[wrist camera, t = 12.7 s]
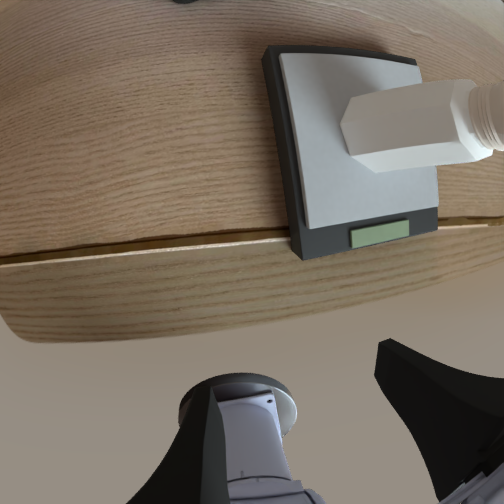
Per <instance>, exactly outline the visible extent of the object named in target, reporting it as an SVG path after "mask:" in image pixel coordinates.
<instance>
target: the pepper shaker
mask: <svg viewBox="0 0 504 504" xmlns="http://www.w3.org/2000/svg"><path fill="white" fill-rule="evenodd" d="M340 127H341V130H342V133H343V136H344V139H345V142H346V145H347V148H348V151H349V154H350V157H352V158H353V159H355V160H357V161H358V162H360V163H361V164H363V165H364V166H366V167H367V168H369V169H370V170H372V171H373V172H375V173H378V172H386V171H393V170H401V169H409V168H418V167H427V166H436V165H446V164H457V163H467V162H474V161H478V160H481V159H483V158H486V157H489V156H491V155H492V152H493V150H494V149H496V150H499V151H504V80H502V81H501V82H499V83H497V84H495V83H491V84H487V85H483V86H481V87H478V86H477V85H476V84H475V83H474V82H473V80H470V79H454V80H441V81H433V82H426V83H420V84H414V85H408V86H402V87H397V88H392V89H387V90H382V91H377V92H373V93H369V94H364V95H360V96H356V97H352V98H351V99H350V101H349V104H348V106H347V108H346V111H345V113H344V115H343V117H342V120H341V122H340Z"/></svg>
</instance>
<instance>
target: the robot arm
mask: <svg viewBox="0 0 504 504" xmlns="http://www.w3.org/2000/svg"><path fill="white" fill-rule="evenodd" d="M374 376H375V378H376V380H377V382H378V384H379V386H380V388H381V390H382V392H383V393H384V395H385V396H386V398H387V399H388V401H389V402H390V403H391V405H392V406H393V408H394V409H395V410H396V412H397V413H398V415H399V416H400V417H401V419H402V420H403V422H404V423H405V425H406V426H407V428H408V429H409V431H410V432H411V434H412V436H413V438H414V440H415V442H416V444H417V446H418V448H419V450H420V452H421V454H422V457H423V459H424V461H425V464H426V466H427V469H428V471H429V474H430V477H431V480H432V483H433V486H434V489H435V493H436V497H437V499H438V500H439V503H438V504H460V503H461V502H462V501H463V502H462V503H461V504H504V378H494V377H487V376H482V375H476V374H472V373H469V372H465V371H462V370H458V369H455V368H453V367H450V366H447V365H445V364H442V363H440V362H438V361H435V360H433V359H431V358H429V357H427V356H425V355H423V354H420V353H418V352H416V351H414V350H412V349H410V348H408V347H407V346H405V345H403V344H401V343H399V342H397V341H395V340H393V339H391V338H389V339H387V340H384V341H381V342H379V344H378V352H377V359H376V366H375V373H374ZM270 399H271V400H270ZM126 504H326V502H325V501H324V499H323V498H322V497H321V496H320V495H319V494H317V493H316V492H315V491H313V490H312V489H303V487H302V484H301V481H300V480H296V481H293V479H292V476H291V473H290V469H289V466H288V463H287V460H286V457H285V453H284V450H283V447H282V438H281V432H280V426H279V420H278V415H277V409H276V403H275V397H274V394H273V393H272V392H266V393H261V394H257V395H252V396H247V397H242V398H236V399H231V400H225V401H219V402H217V401H216V398H215V396H214V393H213V390H212V388H211V385H210V386H204V387H197V388H195V389H194V392H193V395H192V398H191V401H190V404H189V407H188V409H187V412H186V415H185V417H184V419H183V422H182V424H181V426H180V429H179V431H178V433H177V435H176V437H175V439H174V441H173V443H172V445H171V447H170V449H169V450H168V452H167V454H166V455H165V457H164V458H163V460H162V462H161V463H160V465H159V466H158V467H157V469H156V470H155V472H154V473H153V474H152V476H151V477H150V478H149V480H148V481H147V482H146V483H145V485H144V486H143V487H142V488H141V489H140V490H139V491H138V492H137V493H136V494H135V495H134V496H133V497H132V499H131V500H129V501H128V502H127V503H126Z"/></svg>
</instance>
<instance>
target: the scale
mask: <svg viewBox="0 0 504 504" xmlns="http://www.w3.org/2000/svg"><path fill="white" fill-rule="evenodd" d="M261 60H262V65H263V70H264V75H265V80H266V86H267V91H268V96H269V102H270V107H271V113H272V118H273V124H274V130H275V136H276V142H277V148H278V154H279V161H280V167H281V173H282V180H283V187H284V194H285V201H286V208H287V215H288V222H289V230H290V238H291V246H292V251H293V252H294V253H295V254H296V255H297V256H298V257H299V258H300V259H301V260H308V259H313V258H317V257H322V256H327V255H331V254H336V253H340V252H345V251H349V250H354V249H358V248H363V247H367V246H372V245H376V244H380V243H385V242H389V241H393V240H398V239H402V238H406V237H411V236H415V235H419V234H423V233H427V232H432V231H436V230H437V229H438V211H437V206H438V183H437V169H436V166H427V167H418V168H409V169H401V170H393V171H386V172H378V173H375V172H373V171H372V170H370V169H369V168H367V167H366V166H364V165H363V164H361V163H360V162H358V161H357V160H355V159H353V158H352V157H350V154H349V151H348V148H347V145H346V142H345V139H344V136H343V133H342V130H341V127H340V122H341V120H342V117H343V115H344V113H345V111H346V108H347V106H348V104H349V101H350V99H351V98H352V97H356V96H360V95H364V94H369V93H373V92H377V91H382V90H387V89H392V88H397V87H402V86H408V85H414V84H420V83H423V82H422V78H421V74H420V70H419V67H418V66H417V63H416V60H415V59H412V58H407V57H402V56H397V55H392V54H387V53H381V52H374V51H368V50H360V49H351V48H341V47H328V46H305V45H278V46H268V47H267V49H266V51H265V53H264V55H263V57H262V59H261Z"/></svg>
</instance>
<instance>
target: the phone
mask: <svg viewBox="0 0 504 504" xmlns="http://www.w3.org/2000/svg"><path fill="white" fill-rule="evenodd" d="M173 1H174V2H176V3H181V4H185V3H191V2H194V1H197V0H173Z"/></svg>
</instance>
